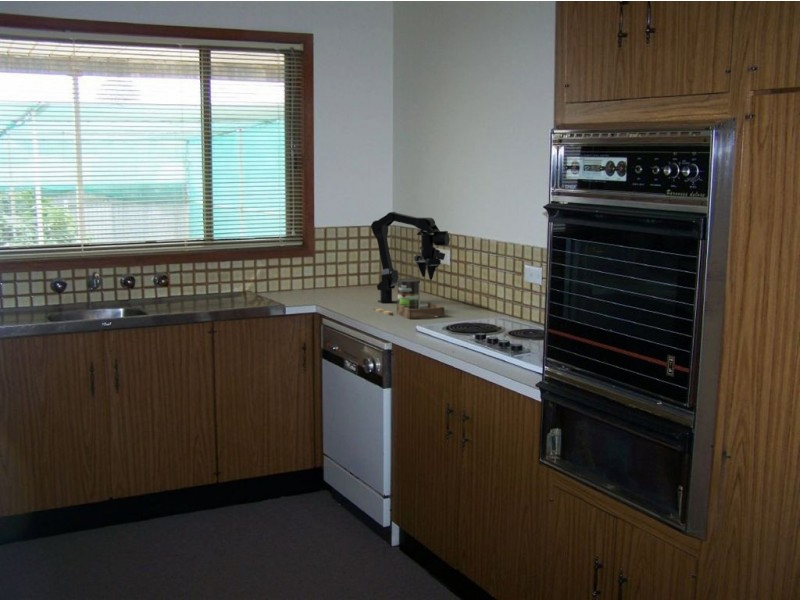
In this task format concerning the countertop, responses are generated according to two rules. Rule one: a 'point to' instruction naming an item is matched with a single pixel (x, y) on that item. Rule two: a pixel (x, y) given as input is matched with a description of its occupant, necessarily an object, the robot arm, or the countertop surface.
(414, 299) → the coffee can
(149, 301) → the countertop surface
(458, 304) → the countertop surface
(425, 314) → the walnut cubby
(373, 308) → the oak stirring stick
